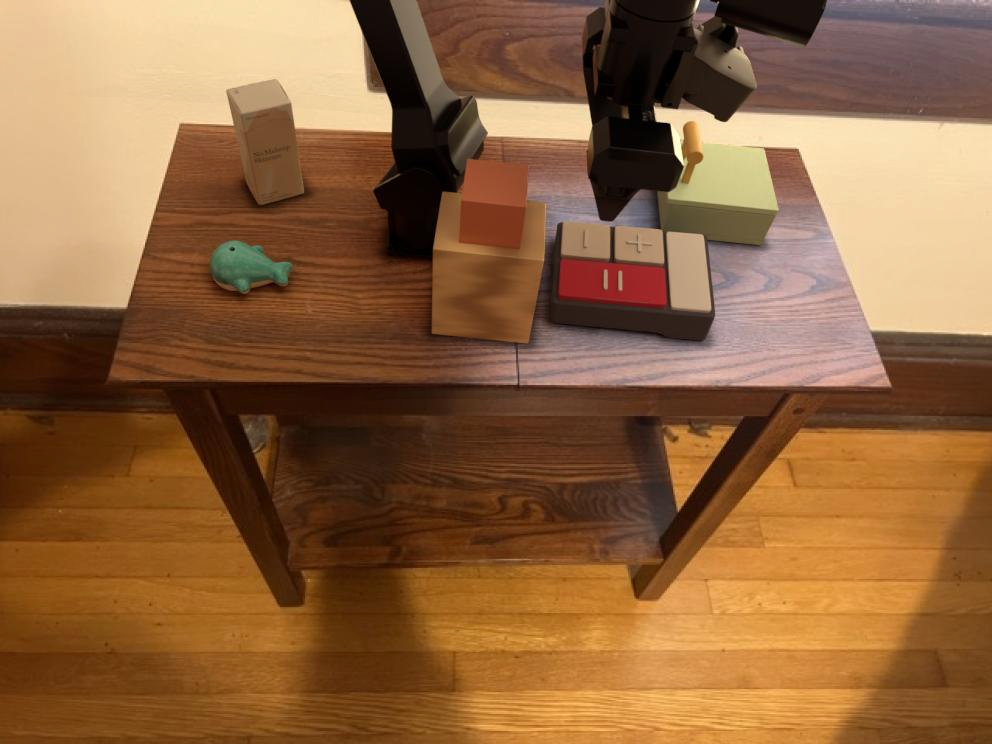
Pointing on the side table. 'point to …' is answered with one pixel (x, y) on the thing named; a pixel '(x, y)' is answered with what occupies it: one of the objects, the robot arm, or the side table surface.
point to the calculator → (632, 280)
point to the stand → (485, 278)
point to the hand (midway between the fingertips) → (603, 182)
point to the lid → (723, 176)
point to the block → (493, 203)
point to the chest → (714, 222)
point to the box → (266, 140)
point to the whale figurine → (246, 267)
